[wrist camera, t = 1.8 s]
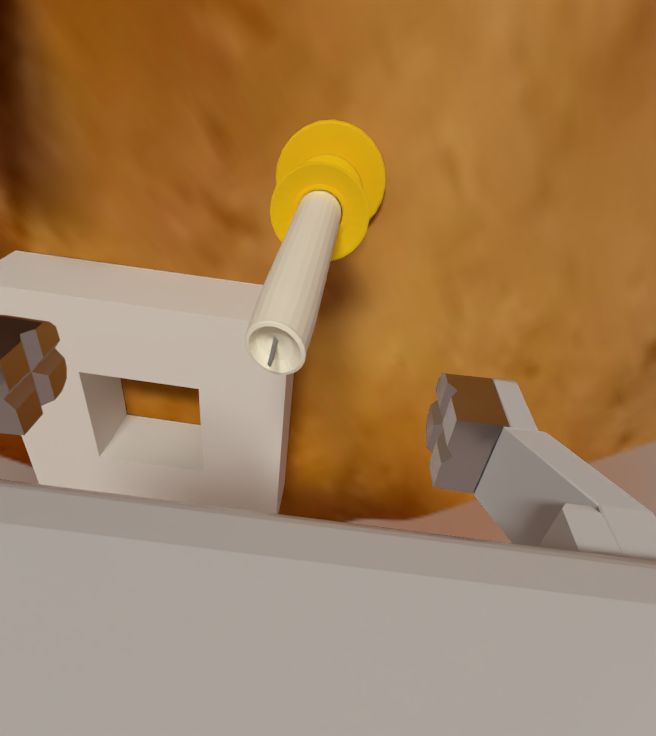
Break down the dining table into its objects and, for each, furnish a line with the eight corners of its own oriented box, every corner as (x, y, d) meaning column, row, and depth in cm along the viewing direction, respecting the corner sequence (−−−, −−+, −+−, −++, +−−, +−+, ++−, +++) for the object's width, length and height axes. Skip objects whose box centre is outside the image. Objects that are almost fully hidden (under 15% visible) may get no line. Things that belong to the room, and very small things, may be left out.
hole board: (301, 290, 26) (289, 326, 23) (284, 483, 36) (275, 528, 32) (15, 250, 26) (-36, 281, 23) (73, 452, 36) (43, 495, 33)
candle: (293, 241, 25) (202, 462, 12) (263, 134, 22) (104, 274, 9) (393, 222, 24) (408, 441, 11) (375, 106, 21) (368, 221, 8)
